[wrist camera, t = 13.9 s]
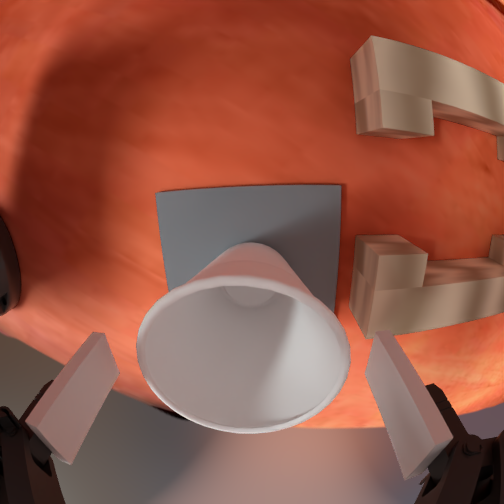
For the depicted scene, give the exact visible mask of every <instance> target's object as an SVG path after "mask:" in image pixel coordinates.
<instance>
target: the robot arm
mask: <svg viewBox="0 0 504 504" xmlns="http://www.w3.org/2000/svg"><path fill="white" fill-rule="evenodd" d="M20 291H21V281H20V271H19V266H18V261H17V257H16V253H15V249H14V246H13V243H12V240H11V237H10V235H9V232H8V230H7V228H6V226H5V224H4V222H3V220H2V218H1V217H0V316H1V315H4V314H6V313H7V312H8V311H10V310H11V309H12V308H14V307H15V306H16V305H17V303H18V301H19V298H20ZM119 374H120V372H119V370H118V367H117V365H116V362H115V360H114V357H113V355H112V352H111V350H110V347H109V344H108V342H107V339H106V336H105V333H98V332H92V334H91V335H90V336H89V337H88V338H87V340H86V341H85V342H84V343H83V344H82V346H81V347H80V348H79V349H78V351H77V352H76V353H75V354H74V356H73V357H72V358H71V359H70V361H69V362H68V363H67V364H66V366H65V367H64V368H63V370H62V371H61V372H60V374H59V375H58V376H57V377H56V379H55V380H51V381H50V382H48V383H47V384H45V385H44V387H43V388H42V389H41V390H40V392H39V394H37V396H36V397H35V400H33V401H32V403H31V404H30V405H29V407H28V408H27V409H26V411H25V412H24V414H23V415H22V417H21V418H20V419H19V420H18V419H17V418H16V417H15V415H14V414H13V413H12V411H11V410H10V409H9V408H8V407H6V406H2V407H0V504H65V501H64V498H63V495H62V492H61V488H60V485H59V482H58V478H57V475H56V471H55V467H54V463H53V460H52V458H51V457H50V455H51V453H53V454H54V455H55V456H56V457H57V458H58V459H59V460H61V461H63V462H65V463H68V464H70V465H71V464H72V462H73V460H74V458H75V456H76V454H77V452H78V450H79V448H80V446H81V444H82V442H83V440H84V438H85V436H86V434H87V432H88V431H89V429H90V427H91V425H92V423H93V421H94V419H95V417H96V415H97V413H98V412H99V410H100V408H101V406H102V404H103V402H104V401H105V399H106V397H107V395H108V393H109V392H110V390H111V388H112V386H113V384H114V383H115V381H116V379H117V377H118V376H119ZM365 376H366V378H367V381H368V383H369V386H370V388H371V391H372V393H373V395H374V398H375V400H376V403H377V405H378V408H379V411H380V413H381V416H382V418H383V421H384V423H385V426H386V429H387V431H388V434H389V437H390V440H391V442H392V445H393V448H394V451H395V454H396V456H397V459H398V462H399V465H400V468H401V471H402V474H403V477H404V480H406V479H409V478H412V477H414V476H417V475H420V474H422V472H424V471H425V469H426V468H427V467H428V470H429V472H430V473H429V474H428V475H427V476H426V477H425V478H424V479H423V480H422V481H421V482H420V485H422V484H423V483H424V485H423V487H422V489H421V491H420V493H419V495H418V498H417V500H416V501H415V503H414V504H504V430H503V431H502V432H501V433H500V435H499V436H498V437H494V438H489V439H483V440H482V439H480V438H479V437H478V436H476V435H469V434H468V433H467V431H466V430H465V428H464V426H463V425H462V423H461V421H460V419H459V417H458V416H457V414H456V412H455V411H454V409H453V408H452V407H451V406H452V405H451V404H450V402H449V401H447V397H446V396H445V394H444V392H443V391H442V390H441V389H440V388H439V387H437V386H436V385H435V384H434V383H433V384H430V385H426V386H425V385H424V384H423V382H422V380H421V379H420V377H419V375H418V374H417V372H416V370H415V369H414V367H413V366H412V364H411V362H410V361H409V359H408V358H407V356H406V354H405V353H404V351H403V350H402V348H401V347H400V345H399V343H398V342H397V340H396V339H395V337H394V336H393V334H392V333H391V331H390V330H384V331H376V332H375V335H374V340H373V344H372V348H371V352H370V356H369V360H368V363H367V367H366V371H365Z"/></svg>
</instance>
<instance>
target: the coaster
mask: <svg viewBox="0 0 504 504" xmlns="http://www.w3.org/2000/svg"><path fill="white" fill-rule="evenodd" d="M155 194H156V204H157V213H158V222H159V230H160V238H161V246H162V253H163V259H164V266H165V272H166V278H167V284H168V290H169V292H170V291H171V290H173V289H174V288H176V287H179V286H181V285H183V284H186V283H187V282H188V281H189V280H190V279H192V278H193V277H194V276H195V275H197V274H198V273H199V272H200V271H201V270H203V269H204V268H205V267H206V266H208V265H209V264H210V263H211V262H212V261H213V260H215V259H216V258H217V257H218V256H219V255H221V254H222V253H223V252H224V251H226V250H227V249H229V248H230V247H232V246H235V245H237V244H241V243H251V242H254V243H260V244H264V245H266V246H269V247H271V248H272V249H274V250H276V251H277V252H278V253H279V254H280V255H281V256H282V257H283V258H284V259H285V261H286V262H287V263H288V264H289V266H290V267H291V268H292V270H293V271H294V272H295V273H296V275H297V276H298V277H299V278H300V280H301V281H302V282H303V283H304V285H305V286H306V287H307V288H308V289H309V291H310V292H311V293H312V295H313V296H314V297H316V298H317V299H319V300H320V301H321V302H322V303H323V304H324V305H326V306H327V307H328V308H329V309H330V310H331V311H332V312H333V313H334V308H335V298H336V288H337V276H338V262H339V246H340V224H341V185H324V184H297V185H254V186H231V187H214V188H199V189H186V190H174V191H164V192H157V193H155Z"/></svg>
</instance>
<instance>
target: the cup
mask: <svg viewBox="0 0 504 504" xmlns="http://www.w3.org/2000/svg"><path fill="white" fill-rule="evenodd" d="M136 349H137V358H138V363H139V366H140V369H141V371H142V374H143V376H144V378H145V380H146V381H147V383H148V385H149V386H150V388H151V389H152V390H153V392H154V393H155V394H156V395H157V396H158V397H159V398H160V399H161V400H162V401H163V402H164V403H165V404H166V405H167V406H169V407H170V408H171V409H172V410H174V411H175V412H177V413H178V414H180V415H182V416H183V417H185V418H187V419H189V420H191V421H193V422H196V423H198V424H201V425H203V426H206V427H209V428H213V429H216V430H220V431H226V432H233V433H249V434H252V433H253V434H254V433H255V434H256V433H266V432H273V431H277V430H282V429H286V428H289V427H292V426H294V425H297V424H300V423H302V422H304V421H306V420H308V419H310V418H311V417H313V416H315V415H316V414H318V413H319V412H320V411H322V410H323V409H324V408H325V407H327V406H328V405H329V404H330V403H331V402H332V401H333V399H334V398H335V397H336V396H337V395H338V393H339V392H340V390H341V389H342V387H343V385H344V383H345V381H346V379H347V376H348V372H349V367H350V363H351V358H350V344H349V341H348V338H347V335H346V332H345V329H344V328H343V326H342V325H341V323H340V322H339V320H338V319H337V317H336V315H335V314H334V313H333V312H332V311H331V310H330V309H329V308H328V307H327V306H326V305H324V304H323V303H322V302H321V301H320V300H319V299H317V298H316V297H314V296H313V295H312V293H311V292H310V291H309V289H308V288H307V287H306V286H305V285H304V283H303V282H302V281H301V280H300V278H299V277H298V276H297V275H296V273H295V272H294V271H293V270H292V268H291V267H290V266H289V264H288V263H287V262H286V261H285V259H284V258H283V257H282V256H281V255H280V254H279V253H278V252H277V251H276V250H274V249H272V248H271V247H269V246H266V245H264V244H260V243H254V242H251V243H241V244H237V245H235V246H232V247H230V248H229V249H227V250H226V251H224V252H223V253H222V254H221V255H219V256H218V257H217V258H216V259H215V260H213V261H212V262H211V263H210V264H209V265H208V266H206V267H205V268H204V269H203V270H201V271H200V272H199V273H198V274H197V275H195V276H194V277H193V278H192V279H190V280H189V281H188V282H187V283H186V284H183V285H181V286H179V287H176V288H174V289H173V290H171V291H170V292H168V293H167V294H166V295H164V296H163V297H161V298H160V299H159V300H157V301H156V303H155V304H154V305H153V306H152V307H151V309H150V310H149V311H148V312H147V313H146V315H145V317H144V319H143V321H142V324H141V326H140V328H139V331H138V337H137V343H136Z"/></svg>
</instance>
